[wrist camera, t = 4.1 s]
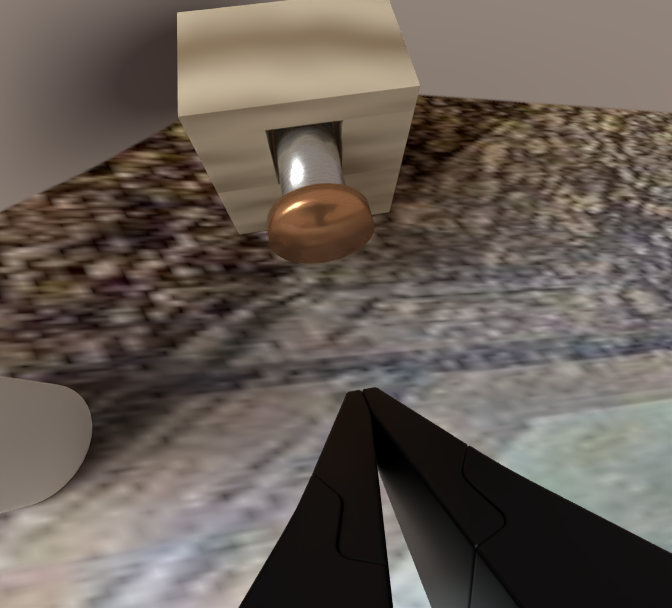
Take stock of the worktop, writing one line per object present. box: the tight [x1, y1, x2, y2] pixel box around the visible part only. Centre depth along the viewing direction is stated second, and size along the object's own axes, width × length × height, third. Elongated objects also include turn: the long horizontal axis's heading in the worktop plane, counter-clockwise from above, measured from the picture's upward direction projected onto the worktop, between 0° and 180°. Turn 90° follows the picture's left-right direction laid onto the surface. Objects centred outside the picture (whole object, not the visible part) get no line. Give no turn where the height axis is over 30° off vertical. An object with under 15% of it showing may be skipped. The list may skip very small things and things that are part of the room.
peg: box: [267, 122, 374, 263], centre depth 19 cm, size 9×6×6 cm, turn 10°
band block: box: [177, 0, 420, 234], centre depth 23 cm, size 8×12×10 cm, turn 100°
